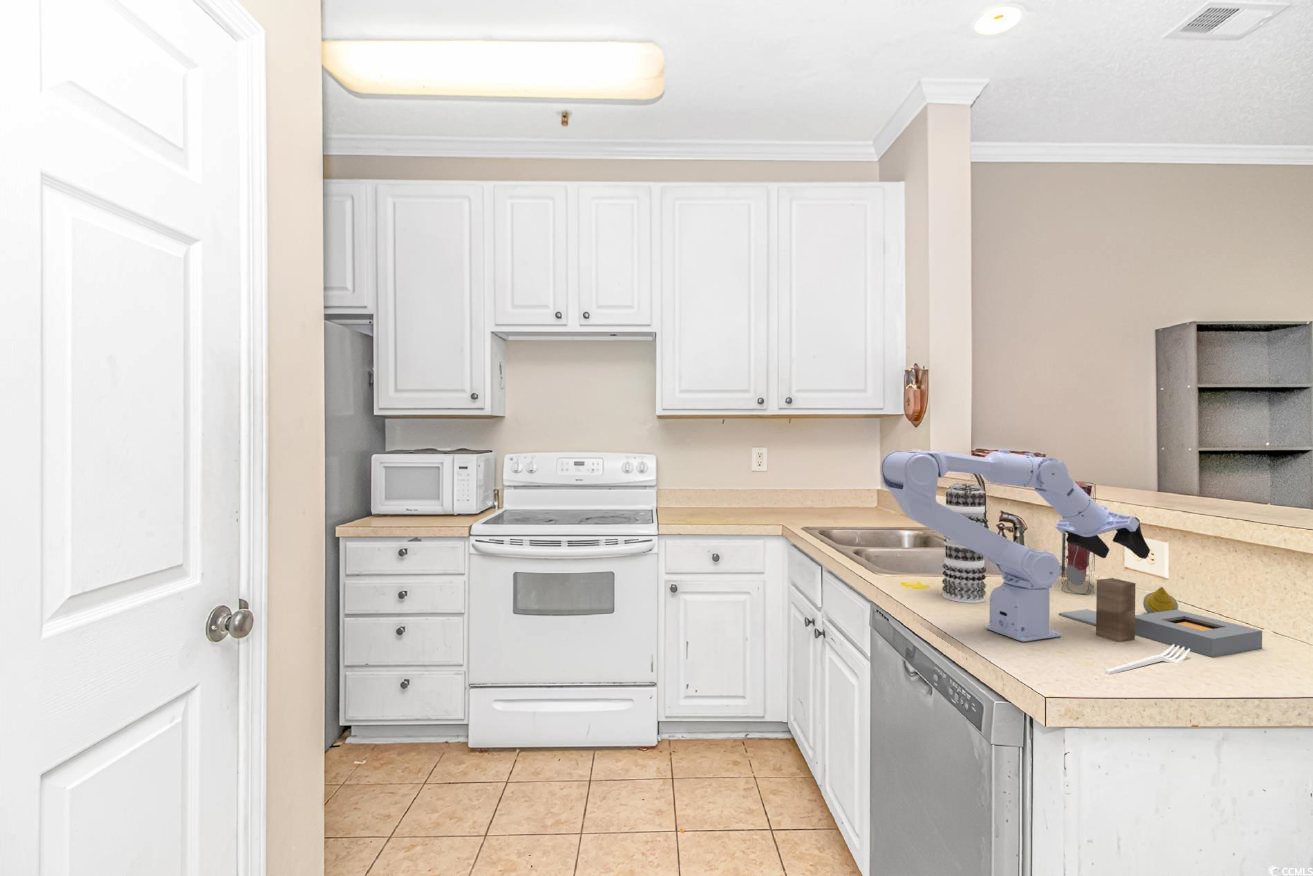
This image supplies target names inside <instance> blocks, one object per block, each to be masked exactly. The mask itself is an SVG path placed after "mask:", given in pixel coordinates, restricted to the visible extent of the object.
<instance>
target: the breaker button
mask: <svg viewBox="0 0 1313 876" xmlns="http://www.w3.org/2000/svg"><path fill="white" fill-rule="evenodd" d="M1175 624H1179V625H1183V626H1187V627H1190V628H1194V629H1198V630H1202V631H1204V630H1210V629H1211V628H1207V627H1203V626H1199V625H1195V624H1191V623H1188V622H1182V623H1175Z"/></svg>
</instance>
